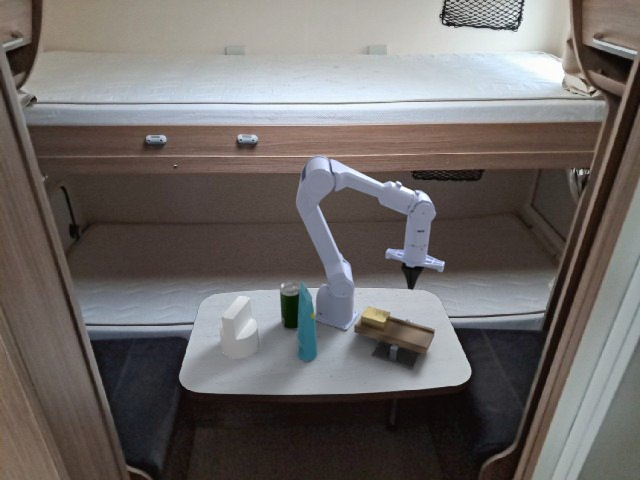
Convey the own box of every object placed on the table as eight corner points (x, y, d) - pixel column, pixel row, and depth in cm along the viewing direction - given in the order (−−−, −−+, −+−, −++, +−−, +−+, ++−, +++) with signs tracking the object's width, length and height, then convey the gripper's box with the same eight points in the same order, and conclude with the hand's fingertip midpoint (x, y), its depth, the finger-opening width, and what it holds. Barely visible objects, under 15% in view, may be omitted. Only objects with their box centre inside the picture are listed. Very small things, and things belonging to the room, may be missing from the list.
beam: (353, 335, 116) (353, 327, 115) (366, 316, 122) (366, 308, 121) (424, 358, 108) (425, 349, 107) (434, 336, 115) (435, 327, 114)
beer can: (288, 333, 120) (286, 295, 114) (277, 322, 124) (275, 284, 118) (306, 326, 122) (305, 288, 117) (295, 315, 126) (294, 278, 121)
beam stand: (371, 356, 113) (372, 343, 111) (390, 324, 123) (391, 313, 121) (412, 369, 109) (413, 357, 107) (427, 336, 119) (429, 324, 117)
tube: (322, 361, 111) (322, 294, 102) (304, 367, 109) (302, 300, 100) (309, 342, 117) (308, 277, 108) (291, 347, 115) (289, 282, 106)
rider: (360, 325, 116) (360, 315, 114) (367, 315, 119) (367, 306, 118) (383, 332, 113) (384, 322, 112) (389, 322, 117) (390, 312, 115)
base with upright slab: (233, 330, 121) (228, 292, 115) (265, 338, 118) (262, 299, 112) (215, 353, 113) (209, 314, 108) (248, 362, 111) (244, 322, 105)
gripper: (382, 241, 114) (379, 287, 121) (441, 255, 109) (434, 303, 115) (392, 229, 120) (388, 274, 127) (449, 242, 114) (442, 288, 121)
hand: (411, 287), depth 121 cm, fingers closed
